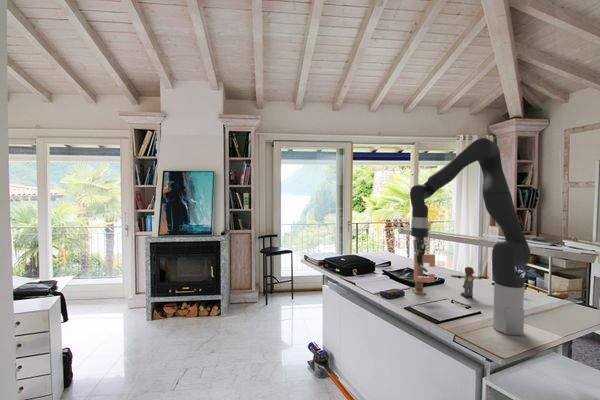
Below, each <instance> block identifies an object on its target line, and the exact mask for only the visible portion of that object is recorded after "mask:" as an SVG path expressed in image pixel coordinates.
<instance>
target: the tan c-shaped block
mask: <svg viewBox="0 0 600 400" xmlns="http://www.w3.org/2000/svg"><path fill="white" fill-rule="evenodd" d="M413 254H414V255H413V281H414V282H415V281H418V282H423V283H435V280H436V279H435V278H436V277H435V275H436V274H435V273H434V272H429V273H428V276H425V275H423V276H418V263H417V253H415V252H414V253H413ZM422 263H423V264H428V266H429V267H431V268H435V267H436V255H435V254H434V253H424V255H423V256H422Z"/></svg>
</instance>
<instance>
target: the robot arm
mask: <svg viewBox="0 0 600 400" xmlns="http://www.w3.org/2000/svg"><path fill="white" fill-rule="evenodd" d="M500 152H501V151H500V148H499V146H498V145H497V143H495V141H492V140H491V139H489V138H486V137H478V138H476V139H474V140H473V141H472V142H470V143H469V145H467V146H466V147H465V148H464V149H463V150H462V151H461V152H459V153H458V154H457V156H455V157H454V158H453V159H452V160H450V161H449V162H448V163H447V164H446V165H444V166H443V167H442V168H440V169H439V170H437V171H436V172H434V173H433V174H432V175H430V176H429V177H427V181H424V183H422V184H414V185H413V186H412V187H410V188H411V189H410V191H409V198H410V203H411V207H412V210H411V211H412V212H411V215H412V216H411V226H410V231H411V232H410V233H411V234H410V236H411V237H414V240H413V250H414V251H413V252H414V253H417V263H420V264H422V256H423V255H424V254H426V253H425V252H426V246H427V245H426V242H425V239H424V238H428V236H429V207H428V205H426V201H425V199H426V200H427V199H428V198H430V197H431V196H433V195H434V194H435V193H436V192H438V190H440V189H441V188H443V187H444V186H446V185H448V184H449V183H450V182H452V181H453V180H454V179H455V178H456V177H457V176H458V175H459V174H460V173H461V171H462V170H464V169H465V168H466V167H467V166H469V165H471V164H473V163H475V162H478V164H479V167H480V170H481V172H482V176H483V177H482V178H483V181H482V182H483V183H482V198H483V201H484V206H485V209H486V211H487V213H488V214H489V216H490V217H491V218H492V219H493V220H494V221H495V223H496V224H497V225H498V226H499V228H500V229H501V230H502V233H503V236H504V240H505V241H504V240H503V241H502V240H501V241H498V242H496V243H495V244H494V245H493V247H492V251H491V266H492V267H491V270H492V275H493V278H494V279H493V280H494V282H493V283H494V285H493V314H492V315H493V316H492V317H493V320H492V321H493V322H492V327H493V329H494V330H496V331H498V332H500V333H501V334H505V335H507V336H508V335H509V336H522V337H523V336H524V331H525V329H524V327H525V309H524V306H525V305H524V303H525V302H524V301H525V292H524V290H525V279H524V278H523V276H520V275H517V274H516V267H522V266H527V265H528V264H529V263H530V261H531V257H532V254H531V253H532V252H531V249H530V246H529V244H528V241H527V239H526V236H525V234H524V232H523V229H522V227H521V224H520V221H519V218H518V215H517V211H516V209H515V205H514V201H513V196H512V194H511V191H510V188H509V185H508V180H507V179H506V176H505V173H504V170H503V165H502V158H501V153H500Z"/></svg>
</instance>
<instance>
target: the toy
mask: <svg viewBox="0 0 600 400" xmlns="http://www.w3.org/2000/svg"><path fill="white" fill-rule="evenodd" d="M464 273H465V275H453V274H450V277H452V278H457V279H464V281H463V282H464V283H463V285H462V288H463V290H464V291H463V292H461V293H460V296H462V297H463V298H465V299H468V298H469V299H473V294H474V292H473V291H474V290H473V289H474V280H475V279H476V280H484V279H489V278H490V276H484V275H483V276H481V275H473V274H475V270H474V268H473V267H471V266H466V267H464Z"/></svg>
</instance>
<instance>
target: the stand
mask: <svg viewBox="0 0 600 400" xmlns="http://www.w3.org/2000/svg"><path fill="white" fill-rule="evenodd" d="M424 272H425V273H427V272H428V269H427V268H425V267H424V263H422V264H420V263H418V276H424ZM411 290H412V292H413V293H414V294H415V295H420V296H421V295H422V296H423V295H425V296H427V292H426V291H425V289H424V282H418V281H414V287H411Z"/></svg>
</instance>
